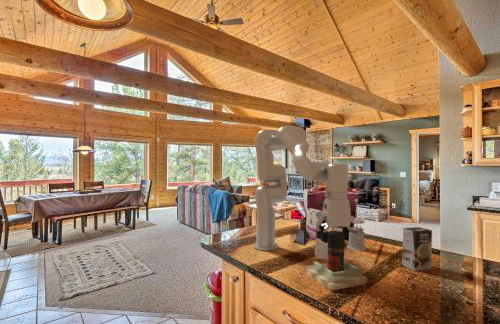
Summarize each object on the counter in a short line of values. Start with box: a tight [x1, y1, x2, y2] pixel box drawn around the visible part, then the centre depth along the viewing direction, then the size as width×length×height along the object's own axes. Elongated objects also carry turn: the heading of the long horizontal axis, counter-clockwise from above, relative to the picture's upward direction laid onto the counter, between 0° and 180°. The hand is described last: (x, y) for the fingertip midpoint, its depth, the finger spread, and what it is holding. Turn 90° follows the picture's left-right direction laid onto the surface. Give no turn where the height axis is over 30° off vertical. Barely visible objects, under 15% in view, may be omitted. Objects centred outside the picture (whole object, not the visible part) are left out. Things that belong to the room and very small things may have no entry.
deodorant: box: [326, 230, 345, 272], centre depth 95 cm, size 6×6×15 cm
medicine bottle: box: [314, 230, 329, 261], centre depth 117 cm, size 7×7×12 cm
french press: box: [345, 199, 367, 252], centre depth 130 cm, size 10×12×25 cm
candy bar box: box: [305, 208, 323, 241], centre depth 146 cm, size 11×5×16 cm, turn 17°
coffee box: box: [401, 226, 433, 271], centre depth 107 cm, size 9×6×16 cm
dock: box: [303, 260, 368, 292], centre depth 96 cm, size 16×16×5 cm
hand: (335, 240), depth 96 cm, fingers open, 9 cm apart
